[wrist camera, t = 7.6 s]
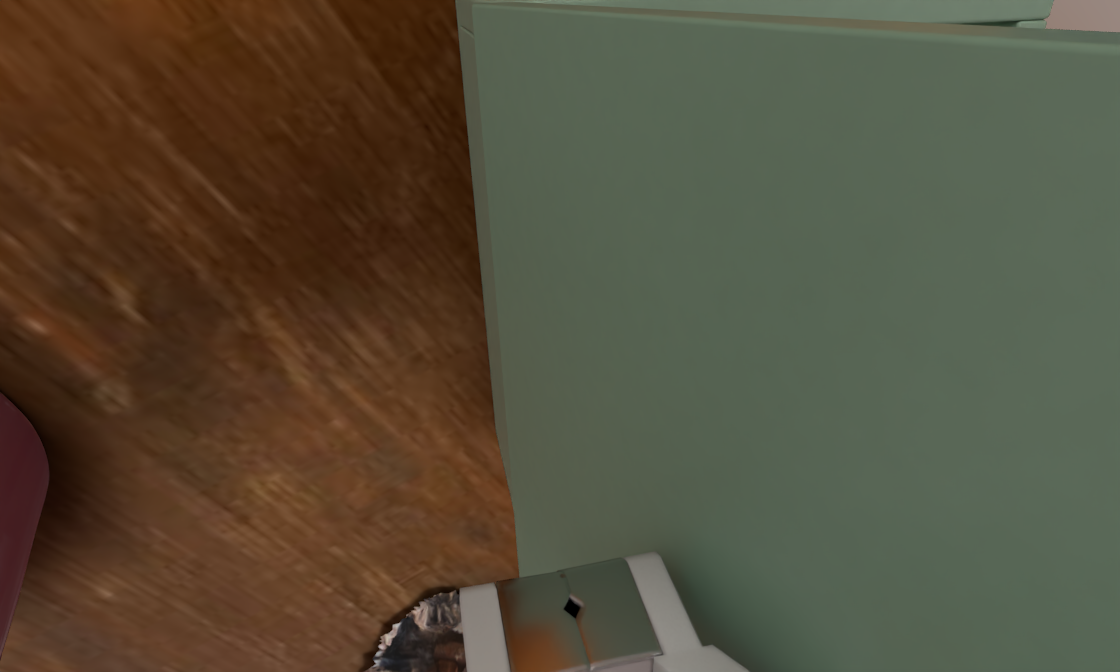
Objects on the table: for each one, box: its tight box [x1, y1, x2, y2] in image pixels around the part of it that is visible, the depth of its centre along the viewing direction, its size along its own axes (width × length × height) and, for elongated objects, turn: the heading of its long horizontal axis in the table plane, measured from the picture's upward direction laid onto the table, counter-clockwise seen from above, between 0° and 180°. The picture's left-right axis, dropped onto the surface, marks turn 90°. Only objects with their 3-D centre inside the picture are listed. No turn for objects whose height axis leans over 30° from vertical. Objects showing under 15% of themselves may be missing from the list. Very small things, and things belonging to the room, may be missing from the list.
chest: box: [455, 0, 1054, 509], centre depth 20 cm, size 13×16×8 cm
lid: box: [472, 2, 1120, 672], centre depth 10 cm, size 13×16×1 cm
